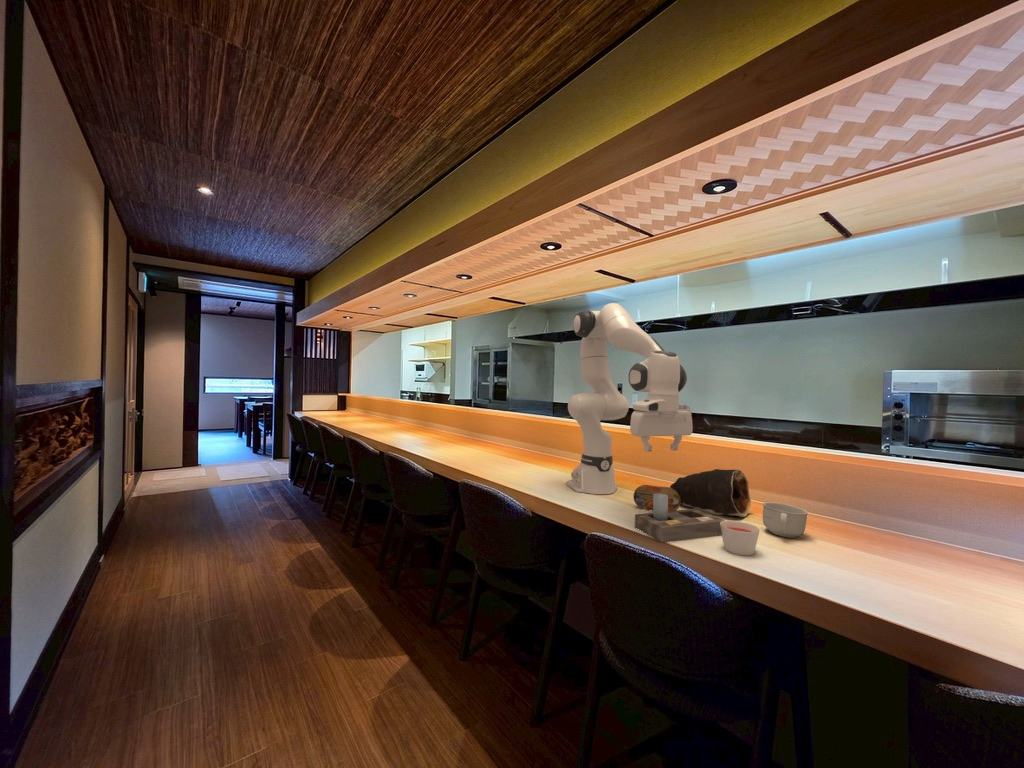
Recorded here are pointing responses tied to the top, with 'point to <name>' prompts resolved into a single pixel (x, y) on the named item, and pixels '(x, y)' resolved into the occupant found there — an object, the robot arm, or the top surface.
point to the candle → (739, 537)
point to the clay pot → (715, 492)
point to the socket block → (679, 525)
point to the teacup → (784, 519)
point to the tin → (645, 497)
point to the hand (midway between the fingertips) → (661, 450)
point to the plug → (660, 507)
